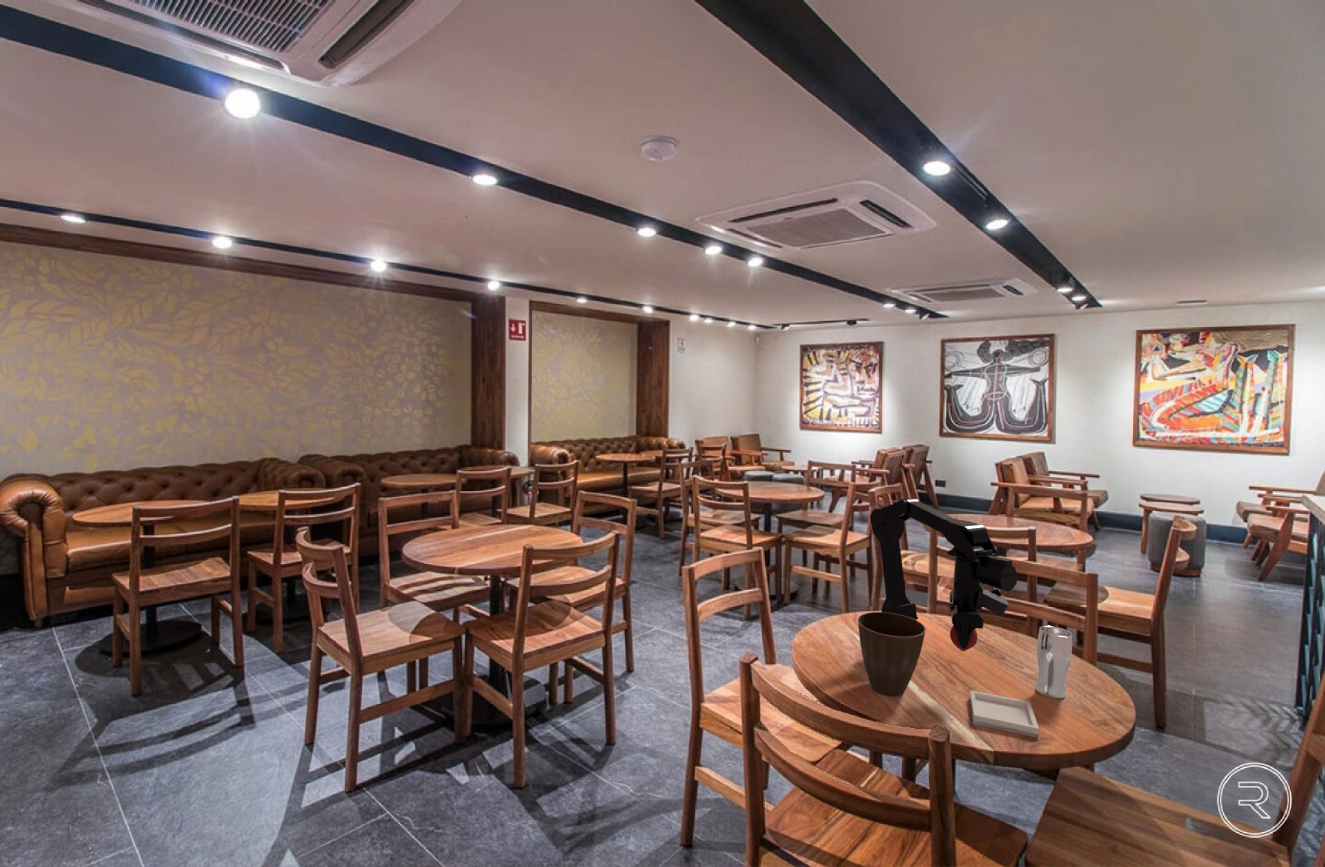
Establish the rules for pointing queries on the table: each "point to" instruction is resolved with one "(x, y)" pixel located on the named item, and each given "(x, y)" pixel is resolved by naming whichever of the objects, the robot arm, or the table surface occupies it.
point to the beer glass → (1053, 660)
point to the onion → (956, 641)
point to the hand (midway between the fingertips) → (963, 643)
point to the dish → (1003, 713)
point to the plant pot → (890, 650)
